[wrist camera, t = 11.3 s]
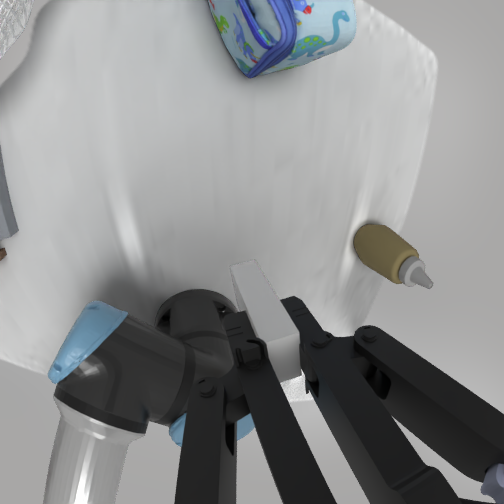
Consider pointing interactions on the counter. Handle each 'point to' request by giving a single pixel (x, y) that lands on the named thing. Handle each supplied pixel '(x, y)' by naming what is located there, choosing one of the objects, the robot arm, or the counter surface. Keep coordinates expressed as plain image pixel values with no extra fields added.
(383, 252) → the squeeze bottle
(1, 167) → the panel
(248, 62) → the lunch box
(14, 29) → the heart
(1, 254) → the walnut tunnel
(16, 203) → the counter surface
